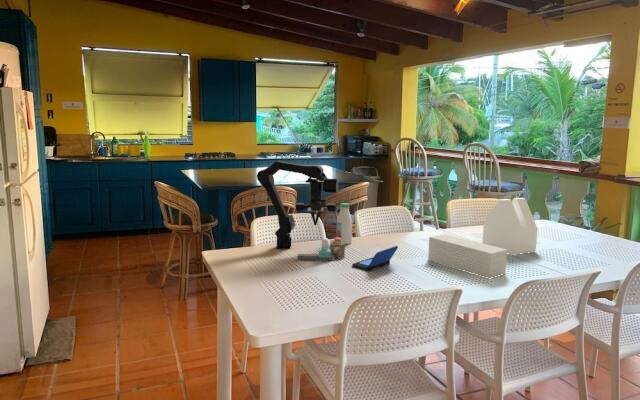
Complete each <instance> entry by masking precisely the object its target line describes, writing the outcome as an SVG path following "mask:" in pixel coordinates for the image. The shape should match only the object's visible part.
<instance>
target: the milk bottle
mask: <svg viewBox="0 0 640 400" xmlns="http://www.w3.org/2000/svg"><path fill="white" fill-rule="evenodd" d="M339 205H340V207H339V208H340V211H339V213H338V214H337V218H336V230H335V231H336V235H335V236H336V237H339V238H341V240H343V241H344V244H345V245H349V244H351V243H352V242H353V241H352V239H353V238H352V236H353V234H352V233H353V219H352V215H351V213H350V203H348V202H342V203H340V204H339ZM336 237H335V238H336Z"/></svg>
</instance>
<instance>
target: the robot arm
mask: <svg viewBox="0 0 640 400" xmlns="http://www.w3.org/2000/svg"><path fill="white" fill-rule="evenodd" d="M323 168H324V167H322V166H321V165H320V164H305V165H304V164H298V163H292V162H287V161H282V160H276V161H274V162H273V163H272V164H271V165H269V166H267V167H266V168H264V169H261V170H259V171H258V172H257V174H256V179H257V181H258V182H259V184H260V185H261V186H262V188H264V189H265V191H266V193H267V196H268V197H269V200H270V202H271V204H272V206H273V209H274V211H275V213H276V216H277V219H278V226H279V228H278V229H277V230H276V231H274V234H275V236H276V249H277V250H279V249H281V250H286V249H287V250H290V249H291V247H292V236H291V233H292V231H293V230H294V229H295V227H296V220H295V219H294V216H293V214H292V213H291V214H289V213H288V212H287V211H286V208H285V205H284V204H283V201H282V199H281V198H280V195H279V192H278V191H277V188H276V185H275V179H274V175H276V173H277V172H278V171H284V172H285V171H286V172H290V173H291V172H292V173H297V174H302V175H304V176H306V177H308V179H306V180H305V183H306V184H307V183H309V204H305V203H304V202H297V203H295V212H296V211H297V212H300V211H301V212H302V211H304V210H307V213H308V214H309V213H310V215H311V217H312V223H313V225H314V226H317V223H318V222H319V218H320V216H321V214H323V213H324V210H328V211H329V212H336V209H337V206H336V204H335V203H330V202H329V203H326V199H323V192H324V193H325V194H338V193H339V187H340V186H339V181H338V180H339V179H338V178H328V177H327V175H326V173H325V172H324V169H323ZM315 211H316V215H315Z"/></svg>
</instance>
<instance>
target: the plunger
mask: <svg viewBox="0 0 640 400" xmlns="http://www.w3.org/2000/svg"><path fill="white" fill-rule="evenodd" d="M333 240H334V241H335V243H340V241H341V238H339V237H334V238H333Z"/></svg>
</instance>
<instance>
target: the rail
mask: <svg viewBox="0 0 640 400" xmlns="http://www.w3.org/2000/svg"><path fill="white" fill-rule="evenodd" d="M297 261H335V258H334V254H331V257H319V253H297Z"/></svg>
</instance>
